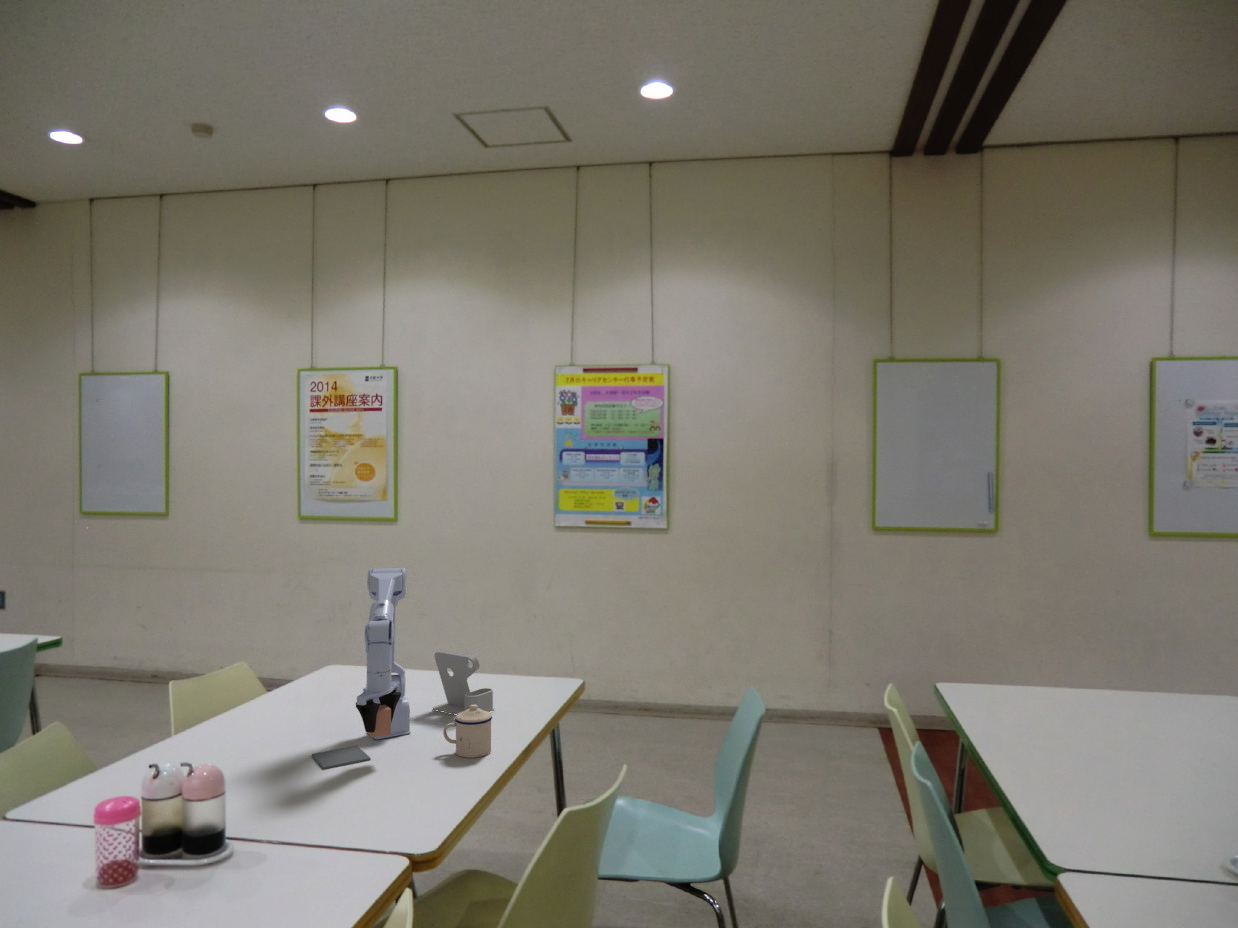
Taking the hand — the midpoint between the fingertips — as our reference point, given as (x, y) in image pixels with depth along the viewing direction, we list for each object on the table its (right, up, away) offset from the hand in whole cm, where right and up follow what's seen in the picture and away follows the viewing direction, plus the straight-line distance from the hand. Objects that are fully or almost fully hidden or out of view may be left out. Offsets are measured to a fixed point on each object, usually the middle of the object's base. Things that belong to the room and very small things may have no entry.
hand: (378, 727), depth 188 cm
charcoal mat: (-10, -8, +3) cm, 14 cm away
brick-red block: (0, -1, 0) cm, 1 cm away
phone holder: (+12, -10, +43) cm, 45 cm away
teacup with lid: (+20, -9, +7) cm, 23 cm away
